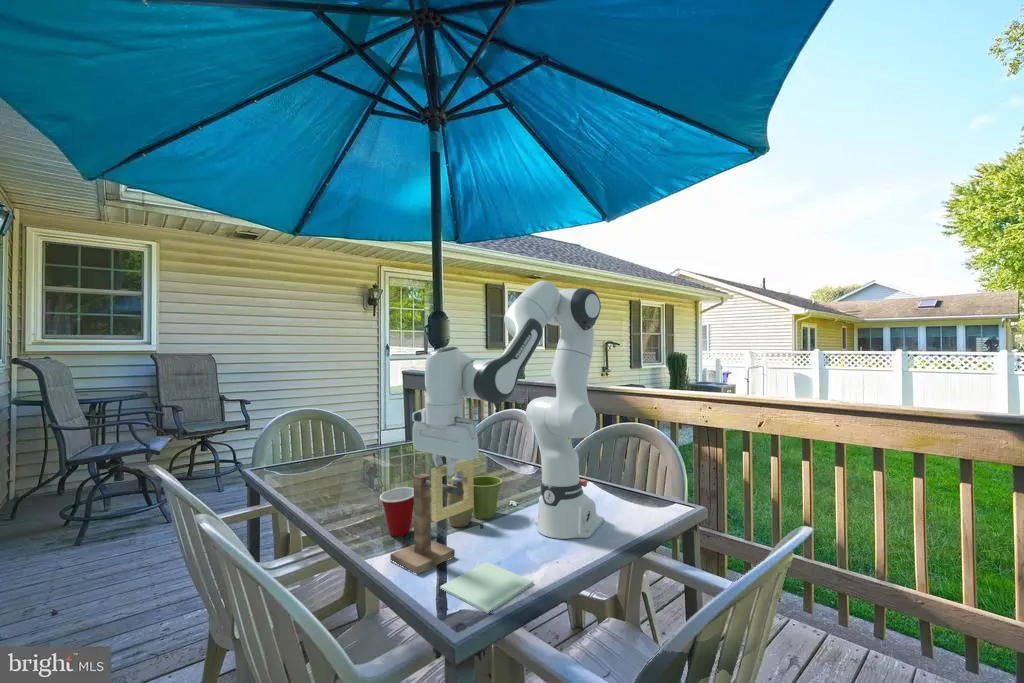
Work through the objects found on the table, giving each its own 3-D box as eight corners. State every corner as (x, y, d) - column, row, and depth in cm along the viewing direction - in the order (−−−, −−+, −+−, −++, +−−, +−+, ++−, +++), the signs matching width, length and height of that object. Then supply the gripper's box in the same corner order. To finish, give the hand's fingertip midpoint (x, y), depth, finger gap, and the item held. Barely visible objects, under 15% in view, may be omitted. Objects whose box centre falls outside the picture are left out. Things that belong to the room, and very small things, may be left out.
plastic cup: (373, 533, 132) (372, 492, 132) (405, 523, 140) (404, 484, 140) (391, 544, 124) (391, 501, 125) (424, 532, 132) (424, 492, 132)
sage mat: (486, 564, 112) (486, 561, 112) (533, 583, 102) (533, 581, 102) (439, 588, 101) (439, 586, 101) (487, 613, 91) (487, 610, 91)
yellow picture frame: (469, 506, 113) (468, 458, 113) (473, 507, 112) (473, 459, 112) (431, 520, 104) (430, 468, 104) (436, 522, 102) (435, 469, 103)
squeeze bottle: (460, 517, 144) (459, 461, 144) (478, 523, 139) (477, 464, 139) (441, 525, 138) (440, 466, 138) (459, 531, 133) (458, 470, 133)
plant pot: (498, 523, 138) (497, 486, 138) (461, 521, 141) (461, 485, 141) (506, 510, 150) (505, 476, 150) (472, 508, 152) (471, 474, 152)
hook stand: (427, 545, 123) (426, 464, 124) (480, 568, 110) (479, 476, 110) (390, 561, 114) (389, 473, 115) (443, 588, 101) (441, 488, 101)
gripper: (484, 417, 102) (485, 478, 101) (428, 410, 115) (428, 464, 115) (464, 421, 97) (465, 485, 97) (407, 413, 110) (408, 469, 110)
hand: (445, 473), depth 106 cm, fingers closed on yellow picture frame, 2 cm apart
